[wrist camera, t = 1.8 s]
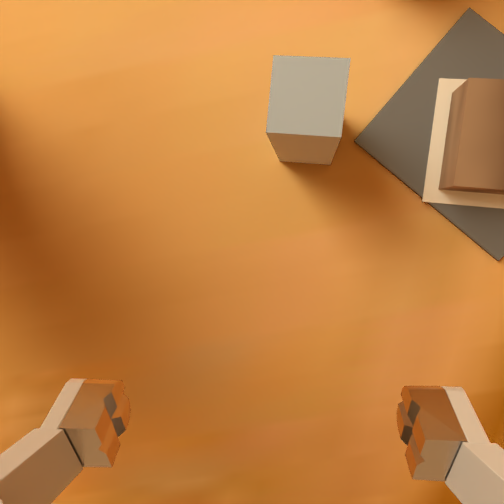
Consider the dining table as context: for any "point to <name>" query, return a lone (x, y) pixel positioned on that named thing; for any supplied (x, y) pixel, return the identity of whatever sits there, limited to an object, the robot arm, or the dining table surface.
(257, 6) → the dining table surface
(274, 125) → the column
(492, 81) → the base block
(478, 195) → the mat
